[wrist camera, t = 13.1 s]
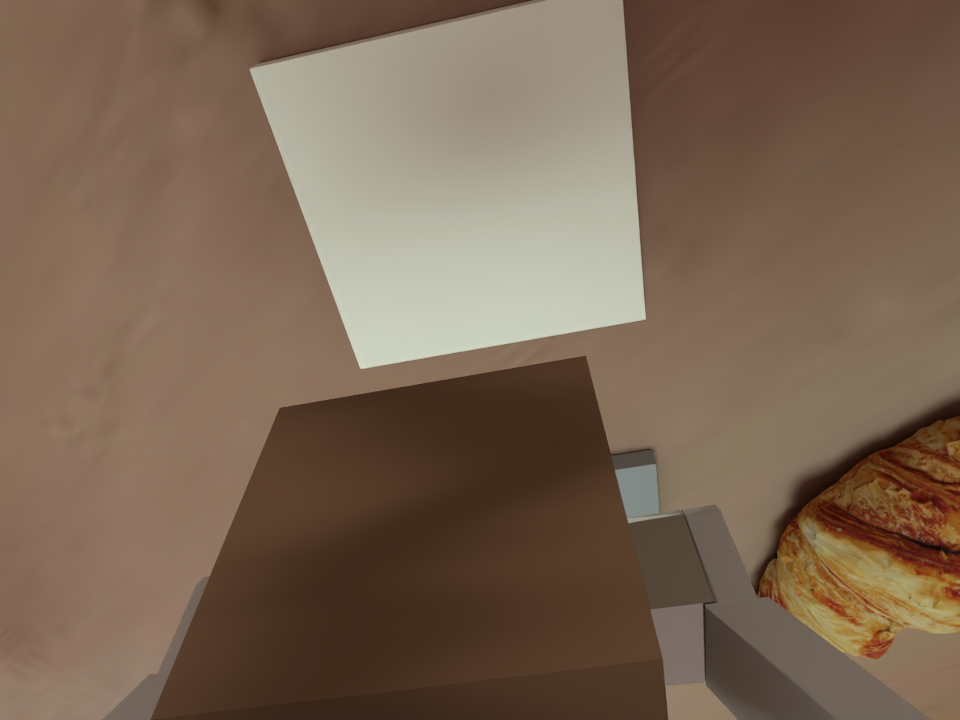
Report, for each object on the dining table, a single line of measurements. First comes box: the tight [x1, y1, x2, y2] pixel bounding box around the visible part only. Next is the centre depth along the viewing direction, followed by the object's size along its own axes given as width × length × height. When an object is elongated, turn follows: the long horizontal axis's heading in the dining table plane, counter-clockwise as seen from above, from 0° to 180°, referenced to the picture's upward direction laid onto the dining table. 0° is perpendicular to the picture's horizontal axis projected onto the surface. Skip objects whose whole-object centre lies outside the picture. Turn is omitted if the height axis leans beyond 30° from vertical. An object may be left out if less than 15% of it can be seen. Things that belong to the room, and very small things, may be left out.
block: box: [150, 356, 668, 720], centre depth 10 cm, size 5×5×5 cm
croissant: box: [757, 416, 960, 659], centre depth 32 cm, size 21×10×8 cm, turn 154°
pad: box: [249, 0, 646, 369], centre depth 24 cm, size 12×12×1 cm
